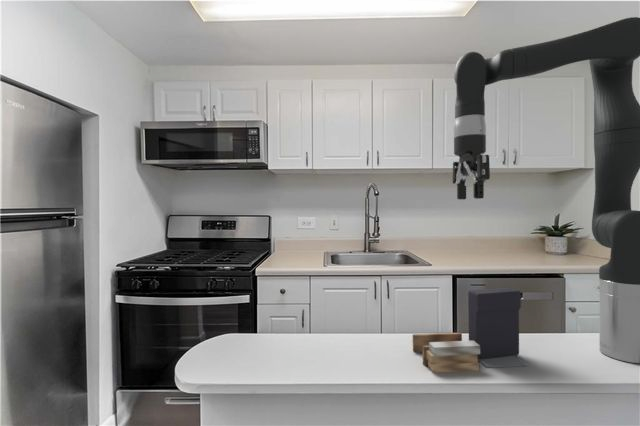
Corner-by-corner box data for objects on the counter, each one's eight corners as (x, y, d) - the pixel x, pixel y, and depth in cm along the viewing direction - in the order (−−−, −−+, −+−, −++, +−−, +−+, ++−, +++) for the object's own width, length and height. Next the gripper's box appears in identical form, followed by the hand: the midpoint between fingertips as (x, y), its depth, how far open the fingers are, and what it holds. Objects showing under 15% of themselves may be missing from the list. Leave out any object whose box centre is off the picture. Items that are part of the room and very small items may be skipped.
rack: (460, 348, 83) (460, 332, 83) (476, 363, 75) (476, 345, 75) (412, 350, 82) (412, 334, 82) (423, 365, 75) (423, 347, 75)
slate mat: (495, 343, 86) (495, 342, 86) (526, 365, 74) (526, 364, 74) (460, 345, 85) (460, 343, 85) (486, 367, 73) (486, 365, 73)
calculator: (507, 348, 82) (507, 286, 81) (521, 356, 77) (521, 290, 77) (466, 353, 80) (465, 289, 79) (478, 361, 75) (477, 293, 75)
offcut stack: (473, 364, 75) (473, 340, 75) (480, 370, 72) (480, 345, 72) (426, 366, 74) (426, 342, 74) (431, 373, 72) (431, 347, 71)
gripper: (500, 129, 80) (500, 198, 81) (469, 141, 95) (469, 199, 95) (469, 129, 80) (469, 198, 80) (443, 141, 94) (443, 199, 94)
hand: (469, 199), depth 87 cm, fingers open, 8 cm apart
